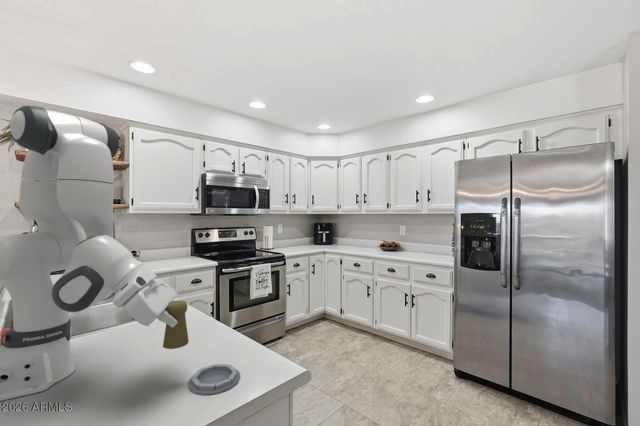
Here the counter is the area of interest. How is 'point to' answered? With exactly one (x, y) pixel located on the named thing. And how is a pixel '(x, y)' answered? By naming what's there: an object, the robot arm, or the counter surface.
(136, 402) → the counter surface
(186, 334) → the olive brown pepper mill
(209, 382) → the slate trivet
